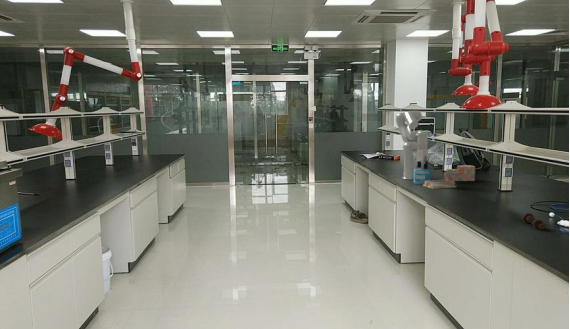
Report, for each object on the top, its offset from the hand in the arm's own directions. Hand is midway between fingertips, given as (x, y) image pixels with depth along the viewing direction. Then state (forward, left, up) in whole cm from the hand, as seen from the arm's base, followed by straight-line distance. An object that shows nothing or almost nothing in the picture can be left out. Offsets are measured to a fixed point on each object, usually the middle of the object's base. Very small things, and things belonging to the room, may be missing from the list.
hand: (422, 168), depth 326 cm
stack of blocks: (-5, +37, -13) cm, 39 cm away
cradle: (+13, +7, -13) cm, 20 cm away
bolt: (+122, -7, -13) cm, 123 cm away
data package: (-1, 0, -13) cm, 13 cm away
